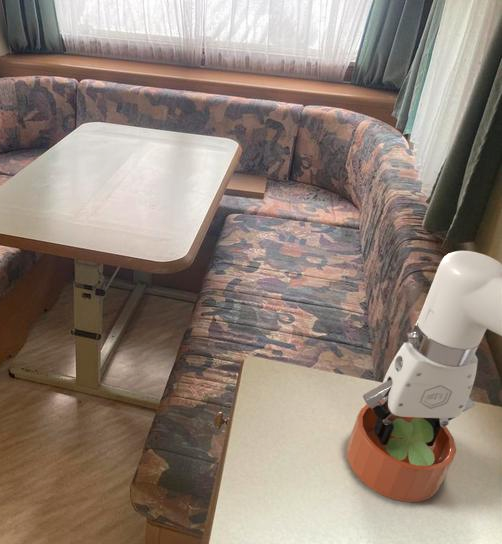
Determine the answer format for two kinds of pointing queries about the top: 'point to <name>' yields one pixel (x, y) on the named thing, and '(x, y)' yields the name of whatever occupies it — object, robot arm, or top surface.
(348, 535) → the top surface
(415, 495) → the planter
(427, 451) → the green leafy piece
